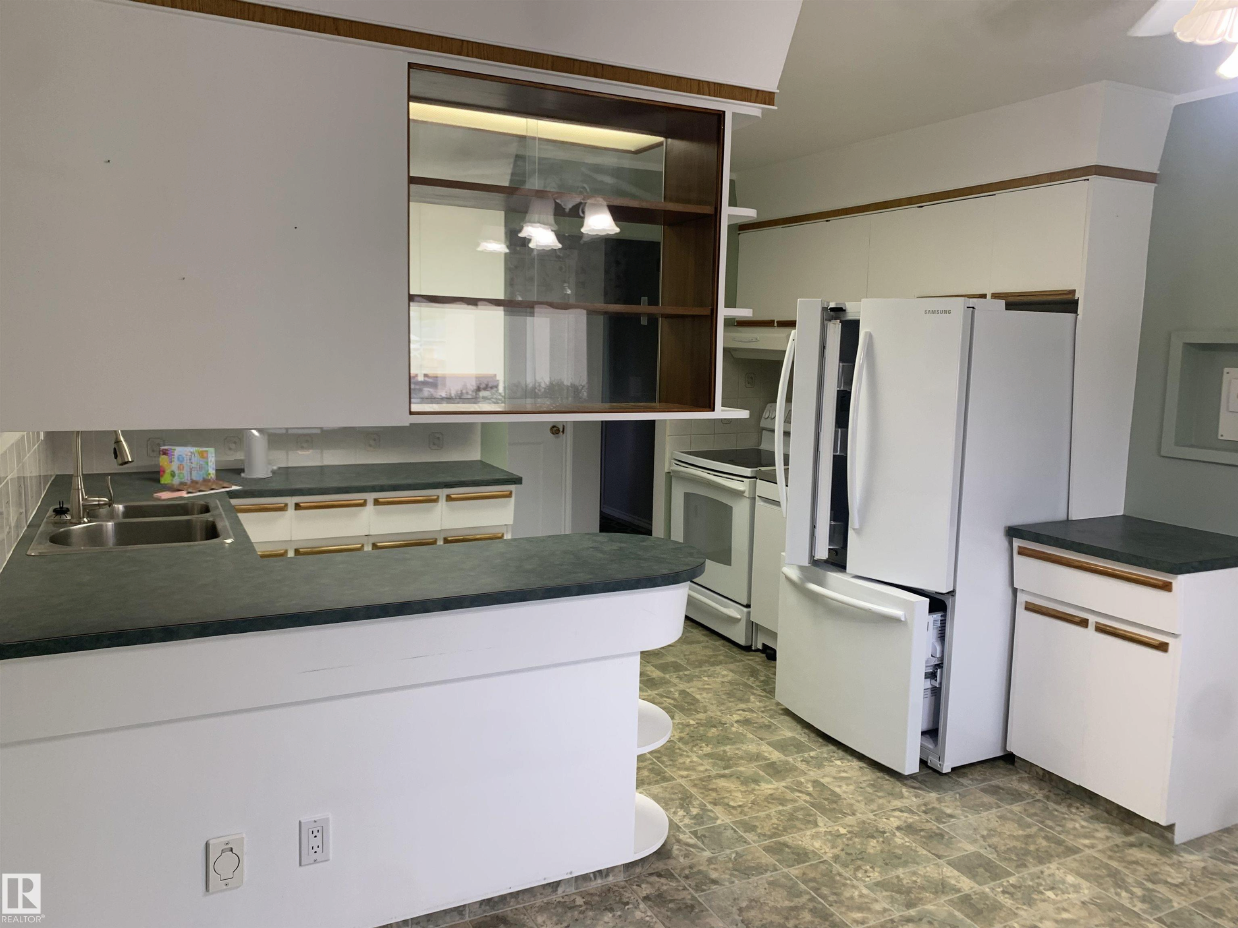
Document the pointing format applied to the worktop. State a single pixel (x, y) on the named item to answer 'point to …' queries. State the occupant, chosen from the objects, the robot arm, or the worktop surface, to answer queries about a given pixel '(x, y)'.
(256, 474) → the robot arm
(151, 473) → the worktop surface
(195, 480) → the domino
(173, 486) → the domino
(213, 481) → the domino
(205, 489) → the domino
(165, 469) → the snack box
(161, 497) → the domino
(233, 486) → the domino mat
